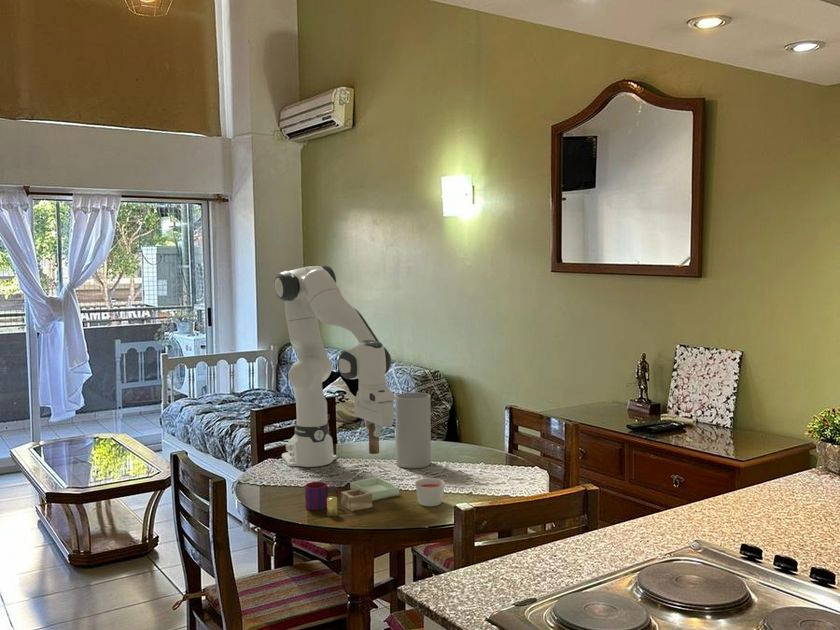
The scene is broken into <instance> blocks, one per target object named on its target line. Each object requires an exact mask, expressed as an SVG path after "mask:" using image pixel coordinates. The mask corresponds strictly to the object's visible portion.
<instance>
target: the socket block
mask: <svg viewBox="0 0 840 630" xmlns="http://www.w3.org/2000/svg"><path fill="white" fill-rule="evenodd" d="M340 505H341V506H342V507H344V508H345V509H347V510H348V509H349V512H355V510H356V511H360V510H365V509H369V508H373V500H372V494H371V493H369V492H368V491H366V490H364V489H362V488H359V489H354V490H350V489H349V490H344V491H340Z"/></svg>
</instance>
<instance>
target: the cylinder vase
mask: <svg viewBox="0 0 840 630" xmlns="http://www.w3.org/2000/svg"><path fill="white" fill-rule="evenodd" d="M394 402H395V404H394V409H395V460H396V461H395V462H396V465H397V466H398V467H400V468H402V469H413V470H414V469H423V468H426V467H428V466H430V465H431V463H432V441H431V440H432V433H431V431H432V428H431V425H432V424H431V394H429V393H426V392H425V393H424V392H418V391H417V392H403V393H398V394H395V395H394Z"/></svg>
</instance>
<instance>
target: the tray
mask: <svg viewBox="0 0 840 630" xmlns="http://www.w3.org/2000/svg"><path fill="white" fill-rule="evenodd" d="M349 483H350V484H349V487H350V488H349V490H354V489H359V488H362V489H364V490H366V491H368V492H369V493H371V494H372V501H377V500H380V499H381V500H382V499H387V498H390V497H396V496H400V487H399V486H397V485H396V484H393V483H392V482H390V481H388V480H386V479H384V478H382V477H380V476H376V477H370V478H366V479H365V478H364V479H360V480H355V481H350V482H349Z"/></svg>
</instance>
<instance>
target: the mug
mask: <svg viewBox="0 0 840 630" xmlns="http://www.w3.org/2000/svg"><path fill="white" fill-rule="evenodd" d="M330 489H334V490H335V492H336V496H335V497H337V500H338V498H339V490H338V487H336V486H335V485H334V486H332V485H331V486H328V483H327V482H325V481H324V482H323V481H311V482H307V483H306V484H304V501H305V506H304V507H305V509H306V510H308V511H314V510H316V511H322V510H326V509H327V497H329V496H328V493H329V492H328V491H329V490H330ZM325 508H326V509H325Z"/></svg>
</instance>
